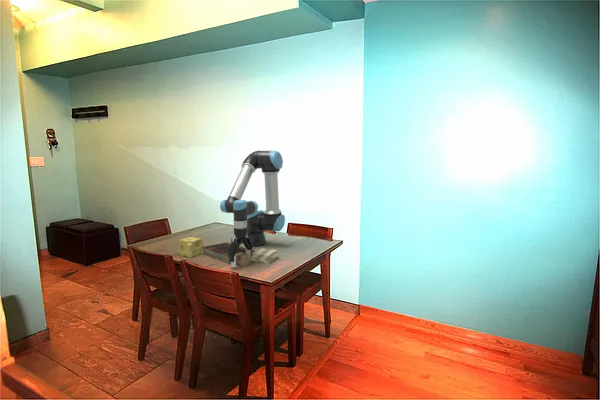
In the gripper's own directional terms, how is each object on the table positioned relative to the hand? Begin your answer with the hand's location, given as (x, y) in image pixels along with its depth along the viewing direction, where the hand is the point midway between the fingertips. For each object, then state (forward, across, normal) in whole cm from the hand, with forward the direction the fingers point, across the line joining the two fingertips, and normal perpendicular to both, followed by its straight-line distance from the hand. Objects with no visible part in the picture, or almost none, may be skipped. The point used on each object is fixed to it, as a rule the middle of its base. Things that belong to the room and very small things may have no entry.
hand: (241, 263), depth 202 cm
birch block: (0, +14, -7) cm, 16 cm away
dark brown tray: (+1, +9, +16) cm, 19 cm away
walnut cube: (0, 0, -1) cm, 1 cm away
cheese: (0, 0, +39) cm, 39 cm away
